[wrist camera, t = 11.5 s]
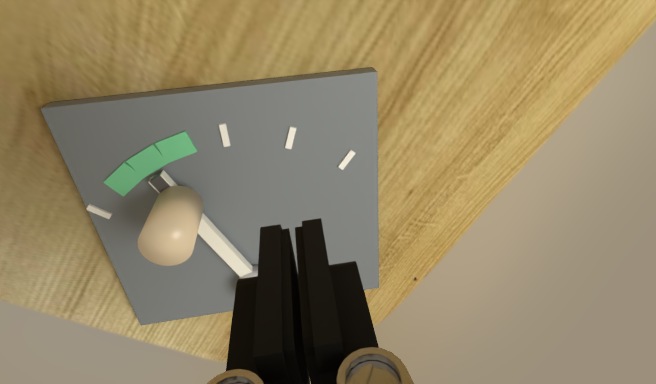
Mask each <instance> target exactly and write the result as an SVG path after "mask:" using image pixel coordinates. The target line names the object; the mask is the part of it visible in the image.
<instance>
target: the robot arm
mask: <svg viewBox="0 0 656 384" xmlns="http://www.w3.org/2000/svg"><path fill="white" fill-rule="evenodd" d="M295 238H296V252H297V266H298V272H297V266H296V261H295V256H294V251H293V246H292V241H291V236H290V231H289V228H287V229H282V227H281V225H280V224H279V225H272V226H265V227H261V228H260V241H259V259H258V276H256V277H249V278H243V279H238V281H237V284H236V291H235V300H234V308H233V317H232V325H231V334H230V342H229V351H228V359H227V368H226V372H224V373H222V374H220V375H217V376H216V377H215V378H213V379H212V380H211V381H210V382H208V383H207V384H310V381H311V384H414V383H413V381H412V379H411V377H410V375H409V373H408V371H407V369H406V367H405V365H404V364H403V363H402V361H401V360H400V359H399V358H398V357H397V356H395V355H394V354H393V353H392V352H389V351H387V350H385V349H382V348H379V347H378V343H377V340H376V335H375V332H374V328H373V324H372V320H371V316H370V312H369V308H368V305H367V301H366V297H365V293H364V289H363V285H362V282H361V278H360V274H359V270H358V266H357V263H356V261H352V262H346V263H339V264H333V265H329V261H328V256H327V250H326V244H325V238H324V232H323V226H322V221H321V218H319V219H312V220H305V221H302V226H301V227H295ZM309 377H310V379H309Z"/></svg>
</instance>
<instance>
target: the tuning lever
mask: <svg viewBox="0 0 656 384" xmlns="http://www.w3.org/2000/svg"><path fill="white" fill-rule="evenodd" d="M148 183H149V184H150V185H151V186H152V187H153V188H154V189H155V190H156V191H157V192H158V193H159V195H158V197H157V199H156V201H155V203H154V205H153V208H152V210H151V212H150V214H149V216H148V218H147V220H146V222H145V224H144V227H143V229H142V231H141V233H140V235H139V238H138V248H139V251H140V252H141V254H142V255H143V256H144V257H145V258H146V259H147V260H149V261H151V262H153V263H155V264H158V265H163V266H173V265H178V264H181V263H183V262H185V261H186V260H187V259H188V258H189V257H190V256H191V255H192V252H193V249H194V245H195V241H196V237H197V234H199V235H200V236H201V237H202V238H203V239H204V240H205V241H206V242H207V243H208V244H209V245H210V246H211V247H212V249H213V250H214V251H215V252H216V253H217V254H218V255H219V256H220V257H221V258H222V259H223V260H224V261H225V262H226V263H227V264H228V265H229V266H230V267H231V268H232V269H233V270H234V271H235V272H236V273H237V274H238V275H239V279H243V278H249V277H256V276H258V265H254V266H252V265H251V264H250V263H249V262H248V261H247V260H246V259H245V258H244V257H243V256H242V255H241V253H240V252H239V251H238V250H237V249H236V248H235V247H234V246H233V245H232V244H231V243H230V242H229V240H228V239H227V238H226V237H225V236H224V235H223V234H222V233H221V232H220V231H219V230H218V229H217V227H216V226H215V225H214V224H213V223H212V222H211V221H210V220H209V219H208V218H207V217H206V216H205V214H204V213H203V210H204V203H203V200H202V198H201V197H200V195H199V194H198V193H197V192H195V191H194V190H192V189H191V188H188V187H185V186H178V185H177V184H176V183H175V182H174V181H173V180H172V179H171V178H170V177H169V175H168V174H167V173H166V172H165V171H164V170H163V171H161V172H159V173H157V174H156V175H154V176H153V177H151V178H150V180H149V182H148Z"/></svg>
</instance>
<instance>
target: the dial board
mask: <svg viewBox="0 0 656 384" xmlns="http://www.w3.org/2000/svg"><path fill="white" fill-rule="evenodd" d="M40 109H41V112H42V114H43V116H44V118H45V120H46V122H47V124H48V127H49V129H50V131H51V133H52V135H53V137H54V140H55V142H56V144H57V146H58V148H59V150H60V152H61V155H62V157H63V159H64V161H65V163H66V165H67V168H68V170H69V172H70V174H71V176H72V178H73V180H74V183H75V185H76V187H77V189H78V191H79V193H80V196H81V198H82V200H83V202H84V204H85V206H86V208H87V209H86V210H87V211H88V213H89V215H90V217H91V219H92V221H93V224H94V226H95V228H96V230H97V232H98V234H99V237H100V239H101V241H102V243H103V245H104V247H105V249H106V252H107V254H108V256H109V258H110V260H111V262H112V265H113V267H114V269H115V271H116V273H117V275H118V277H119V280H120V282H121V284H122V286H123V288H124V290H125V293H126V295H127V297H128V299H129V301H130V303H131V305H132V308H133V310H134V312H135V314H136V316H137V318H138V321H139V323H140V325H146V324H152V323H159V322H165V321H171V320H178V319H184V318H190V317H196V316H203V315H209V314H215V313H222V312H228V311H233V308H234V300H235V291H236V284H237V281H238V279H239V275H238V274H237V273H236V272H235V271H234V270H233V269H232V268H231V267H230V266H229V265H228V264H227V263H226V262H225V261H224V260H223V259H222V258H221V257H220V256H219V255H218V254H217V253H216V252H215V251H214V250H213V249H212V247H211V246H210V245H209V244H208V243H207V242H206V241H205V240H204V239H203V238H202V237H201V236H200V235H199V234H197V237H196V241H195V245H194V249H193V252H192V255H191V256H190V257H189V258H188V259H187V260H186V261H185V262H183V263H181V264H178V265H173V266H163V265H158V264H155V263H153V262H151V261H149V260H147V259H146V258H145V257H144V256H143V255H142V254H141V252H140V251H139V248H138V238H139V235H140V233H141V231H142V229H143V227H144V224H145V222H146V220H147V218H148V216H149V214H150V212H151V210H152V208H153V205H154V203H155V201H156V199H157V197H158V195H159V193H158V192H157V191H156V190H155V189H154V188H153V187H152V186H151V185H150V184H149V183H148V182H149V180H150V178H151V177H153V176H154V175H156V174H157V173H159V172H161V171H163V170H164V171H165V172H166V173H167V174H168V175H169V177H170V178H171V179H172V180H173V181H174V182H175V183H176V184H177V185H178V186H185V187H188V188H191V189H192V190H194V191H195V192H197V193H198V194H199V195H200V197H201V198H202V200H203V203H204V210H203V213H204V214H205V216H206V217H207V218H208V219H209V220H210V221H211V222H212V223H213V224H214V225H215V226H216V227H217V229H218V230H219V231H220V232H221V233H222V234H223V235H224V236H225V237H226V238H227V239H228V240H229V242H230V243H231V244H232V245H233V246H234V247H235V248H236V249H237V250H238V251H239V252H240V253H241V255H242V256H243V257H244V258H245V259H246V260H247V261H248V262H249V263H250V264H251V265H252V266H254V265H258V259H259V241H260V228H261V227H265V226H272V225H279V224H280V225H281V227H282V229H287V228H289V231H290V236H291V241H292V246H293V251H294V256H295V261H296V266H297V252H296V238H295V227H301V226H302V221H305V220H312V219H319V218H321V221H322V226H323V232H324V238H325V244H326V250H327V256H328V261H329V265H333V264H339V263H346V262H352V261H356V263H357V266H358V270H359V274H360V278H361V282H362V285H363V289H364V290H367V289H373V288H379V238H378V122H377V71H376V70H375V69H374V68H372V67H370V68H361V69H352V70H343V71H334V72H324V73H315V74H306V75H297V76H288V77H279V78H269V79H260V80H251V81H242V82H233V83H223V84H214V85H205V86H196V87H187V88H177V89H168V90H159V91H150V92H141V93H131V94H122V95H113V96H104V97H95V98H86V99H76V100H67V101H58V102H50V103H49V104H47V105H45V106H44V107H42V108H40ZM297 272H298V266H297Z"/></svg>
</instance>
